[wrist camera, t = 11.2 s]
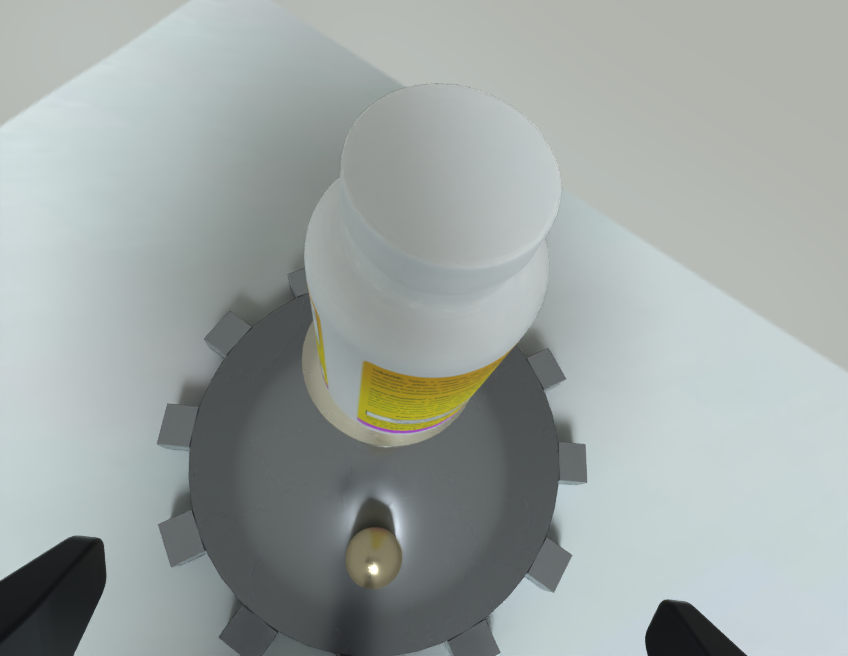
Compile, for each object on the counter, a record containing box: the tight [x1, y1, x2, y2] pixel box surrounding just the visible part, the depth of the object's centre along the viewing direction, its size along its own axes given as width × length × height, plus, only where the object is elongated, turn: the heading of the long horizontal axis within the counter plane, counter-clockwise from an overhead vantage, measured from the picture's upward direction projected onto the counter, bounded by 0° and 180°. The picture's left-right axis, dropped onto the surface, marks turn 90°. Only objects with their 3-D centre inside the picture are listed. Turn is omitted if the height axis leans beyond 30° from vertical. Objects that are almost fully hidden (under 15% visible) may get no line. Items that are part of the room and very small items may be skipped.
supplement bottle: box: [304, 83, 562, 435], centre depth 17 cm, size 7×7×13 cm
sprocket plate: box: [157, 268, 587, 656], centre depth 21 cm, size 17×17×3 cm
